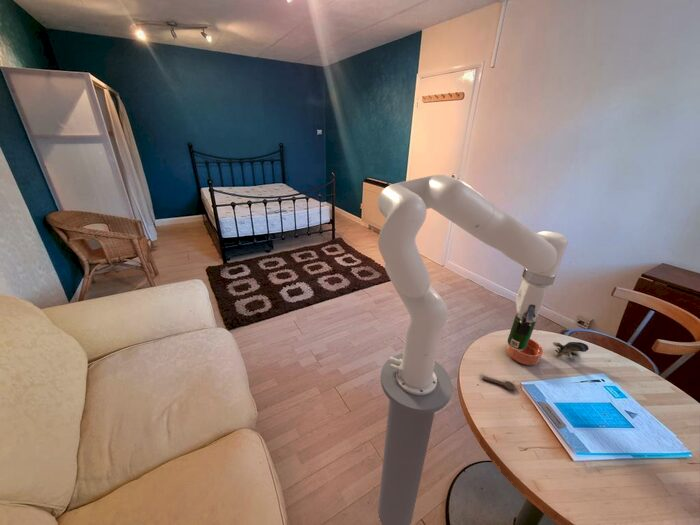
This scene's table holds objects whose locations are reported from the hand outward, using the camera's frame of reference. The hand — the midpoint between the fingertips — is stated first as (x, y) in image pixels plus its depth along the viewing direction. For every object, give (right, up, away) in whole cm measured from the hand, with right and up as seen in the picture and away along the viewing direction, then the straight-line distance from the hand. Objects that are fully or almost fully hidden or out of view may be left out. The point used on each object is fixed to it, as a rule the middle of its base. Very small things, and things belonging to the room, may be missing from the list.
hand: (520, 327), depth 86 cm
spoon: (-6, -18, +1) cm, 19 cm away
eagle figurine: (+24, -13, +13) cm, 30 cm away
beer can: (0, -7, +3) cm, 7 cm away
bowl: (+8, -13, +12) cm, 19 cm away
